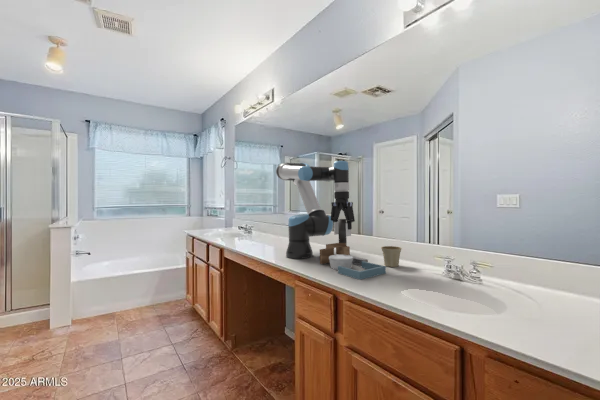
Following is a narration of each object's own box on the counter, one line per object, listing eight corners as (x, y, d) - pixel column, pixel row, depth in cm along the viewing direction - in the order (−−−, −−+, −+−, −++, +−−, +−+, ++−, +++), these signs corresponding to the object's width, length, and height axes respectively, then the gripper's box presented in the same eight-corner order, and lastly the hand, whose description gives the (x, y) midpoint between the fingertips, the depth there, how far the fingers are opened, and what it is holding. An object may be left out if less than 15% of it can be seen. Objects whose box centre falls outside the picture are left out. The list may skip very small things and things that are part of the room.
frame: (338, 273, 126) (337, 266, 126) (363, 267, 135) (363, 261, 135) (359, 279, 116) (359, 272, 116) (385, 273, 124) (385, 266, 124)
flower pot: (390, 262, 144) (390, 245, 144) (406, 266, 136) (406, 247, 136) (377, 265, 139) (376, 247, 139) (392, 269, 131) (392, 250, 131)
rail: (336, 260, 152) (336, 254, 152) (340, 259, 154) (340, 253, 154) (363, 266, 137) (363, 260, 136) (368, 265, 138) (367, 259, 138)
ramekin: (358, 267, 135) (358, 256, 135) (341, 272, 128) (341, 260, 128) (340, 264, 144) (340, 253, 144) (324, 267, 137) (323, 256, 137)
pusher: (317, 262, 145) (316, 220, 145) (341, 258, 154) (341, 218, 154) (324, 265, 140) (323, 221, 140) (349, 260, 149) (349, 219, 149)
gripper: (323, 191, 157) (323, 233, 157) (350, 190, 139) (351, 237, 139) (333, 191, 161) (334, 232, 161) (361, 190, 144) (362, 236, 144)
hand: (342, 235), depth 150 cm, fingers open, 8 cm apart
